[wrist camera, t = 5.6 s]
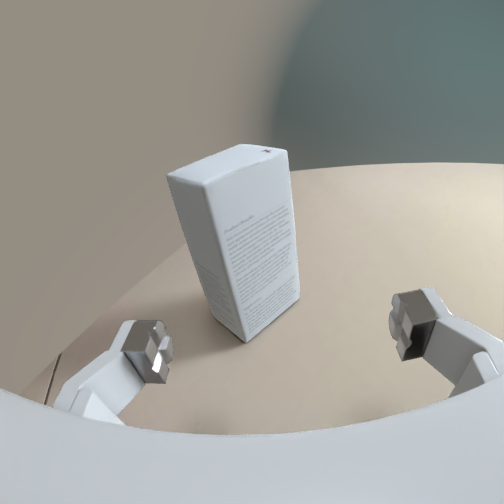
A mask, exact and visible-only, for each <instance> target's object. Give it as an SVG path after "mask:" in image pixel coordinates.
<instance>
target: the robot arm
mask: <svg viewBox="0 0 504 504" xmlns="http://www.w3.org/2000/svg"><path fill="white" fill-rule="evenodd" d="M392 305H393V310H392V311H391V312H390V314H389V329H390V333H391V336H392V338H393V339H395V340H396V341H398V342H397V346H396V348H397V351H398V353H399V356H400V358H401V361H406V360H411V359H415V358H419V357H423V359H425V360H426V361H427V362H428V363H429V364H431V365H432V366H433V367H434V368H435V369H437V370H438V371H439V372H440V373H441V374H442V375H444V376H445V377H446V378H447V379H448V380H449V381H451V382H452V383H453V384H454V385H455V388H454V389H453V391H452V392H451V394H450V395H449V397H448V399H445V400H442V401H440V402H437V403H434V404H431V405H428V406H424V407H421V408H418V409H415V410H411V411H408V412H404V413H401V414H397V415H393V416H389V417H385V418H381V419H376V420H372V421H367V422H362V423H357V424H352V425H346V426H340V427H334V428H327V429H320V430H312V431H303V432H292V433H280V434H261V435H209V434H191V433H178V432H168V431H159V430H151V429H144V428H137V427H131V426H125V424H124V423H123V422H122V421H121V420H120V419H119V418H118V417H117V415H118V414H119V413H120V412H121V411H122V410H123V408H124V407H125V406H126V405H127V404H128V403H129V402H130V401H131V400H132V399H133V398H134V396H135V395H136V394H137V393H138V392H139V391H140V390H141V389H142V388H143V387H144V385H145V383H158V384H165V383H166V380H167V376H168V373H169V368H168V366H167V364H169V363H170V362H171V361H172V359H173V355H174V345H173V341H172V339H171V337H170V336H169V335H168V334H166V333H165V329H166V327H165V325H164V323H163V321H161V320H137V321H134V320H126V321H124V322H123V323H122V325H121V327H120V329H119V331H118V333H117V335H116V337H115V339H114V341H113V343H112V345H111V347H110V349H109V351H105V352H103V353H102V354H101V355H99V356H98V357H97V358H95V359H94V360H93V361H92V362H90V363H89V364H88V365H86V366H85V367H84V368H83V369H81V370H80V371H79V372H77V373H76V374H75V375H74V376H72V377H71V378H70V379H68V380H67V381H66V382H65V383H64V384H63V386H62V388H61V390H60V392H59V394H58V396H57V398H56V400H55V402H54V404H53V406H52V407H49V406H46V405H43V404H40V403H37V402H34V401H32V400H29V399H26V398H24V397H21V396H18V395H16V394H13V393H11V392H9V391H6V390H4V389H2V388H0V504H504V342H503V341H502V340H500V339H498V338H496V337H495V336H493V335H491V334H489V333H487V332H486V331H484V330H482V329H480V328H479V327H477V326H475V325H473V324H471V323H470V322H468V321H466V320H464V319H462V318H460V317H459V316H457V315H453V316H452V315H451V313H450V311H449V310H448V308H447V307H446V305H445V304H444V302H443V301H442V299H441V298H440V296H439V295H438V294H437V292H436V291H435V289H434V288H433V287H426V288H422V289H419V290H413V291H408V292H403V293H398V294H394V296H393V298H392Z"/></svg>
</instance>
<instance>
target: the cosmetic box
mask: <svg viewBox="0 0 504 504" xmlns="http://www.w3.org/2000/svg"><path fill="white" fill-rule="evenodd" d="M166 177H167V181H168V184H169V188H170V191H171V194H172V197H173V201H174V204H175V207H176V211H177V214H178V217H179V220H180V223H181V226H182V230H183V232H184V235H185V238H186V241H187V244H188V247H189V250H190V253H191V256H192V259H193V262H194V265H195V268H196V271H197V274H198V277H199V279H200V282H201V285H202V288H203V291H204V293H205V296H206V299H207V301H208V304H209V307H210V310H211V312H212V315H213V316H214V317H215V318H216V319H217V320H218V321H219V322H221V323H222V324H223V325H224V326H226V327H227V328H228V329H229V330H230V331H232V332H233V333H234V334H235V335H236V336H238V337H239V338H240V339H241V340H242V341H244V342H245V343H246V342H248V341H249V340H250V339H252V338H253V337H254V336H255V335H256V334H258V333H259V332H260V331H261V330H262V329H264V328H265V327H266V326H267V325H268V324H270V323H271V322H272V321H273V320H274V319H276V318H277V317H278V316H279V315H280V314H281V313H283V312H284V311H285V310H286V309H287V308H288V307H290V306H291V305H292V304H293V303H294V302H295V301H297V300H298V299H299V298H300V291H299V275H298V261H297V249H296V235H295V224H294V213H293V203H292V192H291V182H290V173H289V164H288V156H287V151H286V150H283V149H278V148H270V147H264V146H256V145H249V144H239V145H237V146H234V147H232V148H229V149H227V150H224V151H222V152H219V153H217V154H214V155H211V156H208V157H206V158H204V159H201V160H198V161H196V162H194V163H191V164H189V165H187V166H184V167H182V168H179V169H177V170H175V171H173V172H170V173H168V174H167V175H166Z"/></svg>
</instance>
